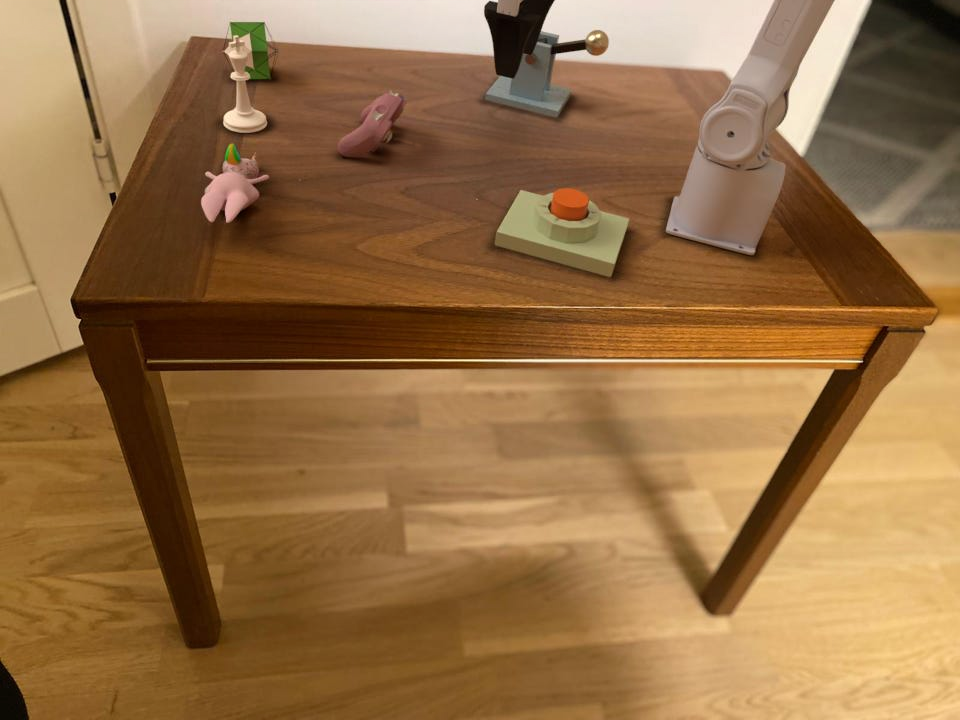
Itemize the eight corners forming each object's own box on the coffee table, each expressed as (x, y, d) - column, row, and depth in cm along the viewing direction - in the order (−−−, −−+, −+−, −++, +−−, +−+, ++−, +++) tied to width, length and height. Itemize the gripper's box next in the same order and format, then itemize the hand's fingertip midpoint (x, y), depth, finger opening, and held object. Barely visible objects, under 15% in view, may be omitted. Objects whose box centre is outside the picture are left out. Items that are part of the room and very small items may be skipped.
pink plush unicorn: (215, 178, 80) (185, 237, 68) (210, 123, 77) (177, 174, 64) (275, 181, 81) (256, 240, 69) (272, 127, 78) (251, 178, 65)
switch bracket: (570, 97, 103) (582, 36, 97) (556, 120, 97) (569, 56, 92) (501, 80, 104) (509, 19, 99) (484, 102, 99) (492, 38, 93)
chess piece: (215, 119, 87) (203, 31, 80) (253, 110, 90) (245, 25, 83) (236, 136, 85) (226, 48, 78) (275, 127, 87) (268, 40, 80)
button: (588, 208, 76) (592, 193, 74) (581, 226, 73) (585, 210, 72) (554, 199, 76) (557, 184, 75) (546, 216, 74) (549, 201, 72)
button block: (625, 232, 79) (634, 203, 77) (610, 278, 73) (619, 248, 70) (518, 203, 81) (523, 174, 79) (494, 245, 74) (498, 215, 72)
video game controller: (367, 176, 84) (395, 130, 80) (332, 152, 83) (359, 104, 79) (391, 138, 92) (419, 94, 87) (360, 116, 90) (386, 70, 86)
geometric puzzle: (220, 43, 98) (216, 5, 90) (274, 42, 100) (274, 5, 92) (227, 94, 97) (224, 60, 89) (281, 92, 99) (282, 59, 91)
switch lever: (612, 49, 95) (609, 25, 93) (607, 57, 93) (605, 32, 91) (530, 60, 99) (526, 37, 97) (525, 68, 97) (520, 44, 95)
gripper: (514, -94, 80) (498, 35, 89) (474, -65, 69) (460, 78, 78) (578, -82, 79) (555, 48, 88) (546, -50, 68) (524, 93, 77)
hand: (514, 63), depth 83 cm, fingers open, 7 cm apart
